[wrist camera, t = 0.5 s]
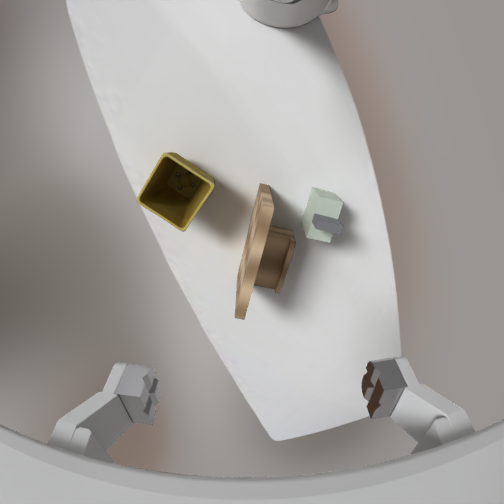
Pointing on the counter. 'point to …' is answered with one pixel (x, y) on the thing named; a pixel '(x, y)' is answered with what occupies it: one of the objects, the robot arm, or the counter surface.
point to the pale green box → (322, 215)
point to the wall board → (263, 253)
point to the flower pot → (176, 190)
